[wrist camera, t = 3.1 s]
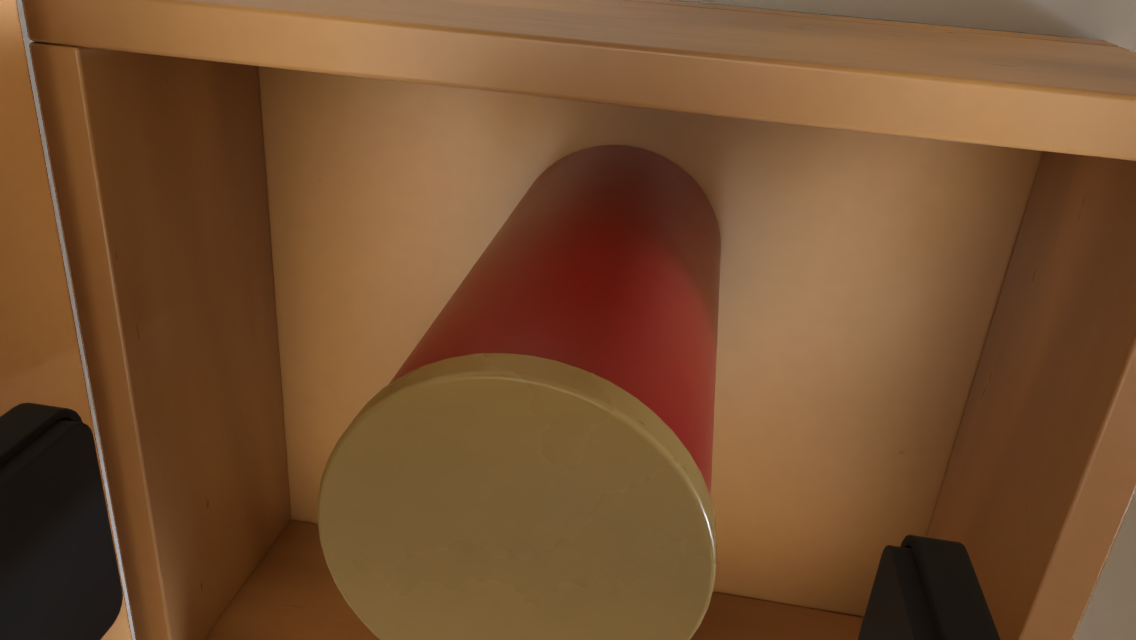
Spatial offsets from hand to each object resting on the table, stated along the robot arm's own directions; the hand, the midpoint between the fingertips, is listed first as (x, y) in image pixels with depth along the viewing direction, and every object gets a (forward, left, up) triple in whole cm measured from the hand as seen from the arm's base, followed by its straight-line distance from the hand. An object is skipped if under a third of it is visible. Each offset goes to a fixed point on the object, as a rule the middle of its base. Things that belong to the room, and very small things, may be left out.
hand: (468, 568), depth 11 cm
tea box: (0, +3, -12) cm, 13 cm away
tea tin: (0, 0, -12) cm, 12 cm away
